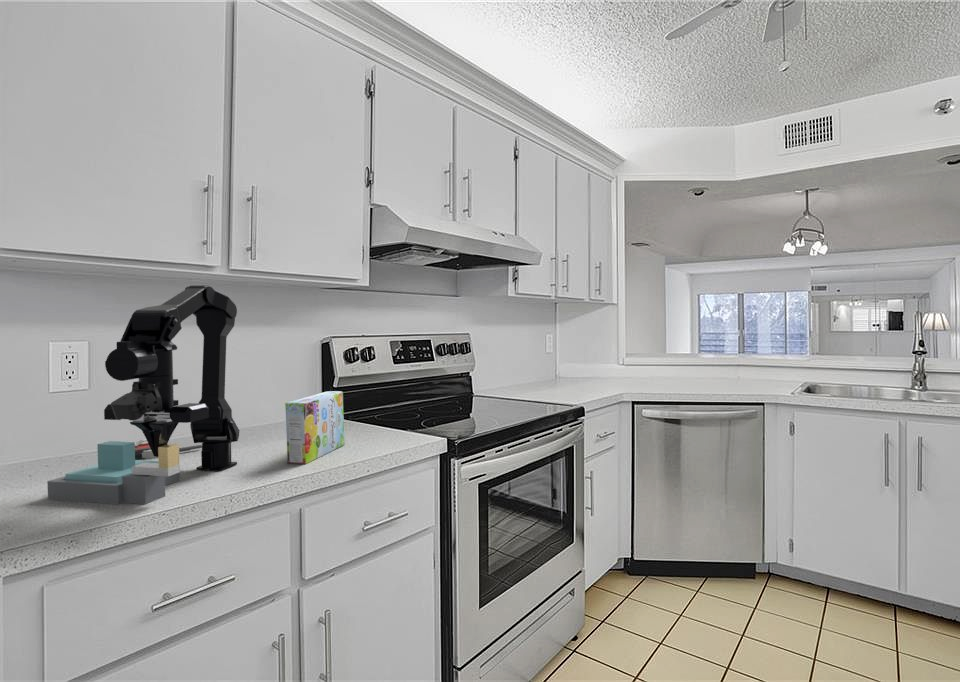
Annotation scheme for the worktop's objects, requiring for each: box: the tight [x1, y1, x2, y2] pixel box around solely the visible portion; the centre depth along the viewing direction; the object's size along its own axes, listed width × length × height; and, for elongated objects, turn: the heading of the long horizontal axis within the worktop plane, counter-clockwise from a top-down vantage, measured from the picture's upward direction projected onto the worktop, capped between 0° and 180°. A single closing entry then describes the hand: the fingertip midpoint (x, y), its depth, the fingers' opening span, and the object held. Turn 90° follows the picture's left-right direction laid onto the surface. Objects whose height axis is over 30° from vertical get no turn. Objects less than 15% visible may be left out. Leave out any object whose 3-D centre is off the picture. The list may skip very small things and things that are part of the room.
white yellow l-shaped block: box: [132, 443, 181, 476], centre depth 108 cm, size 3×8×6 cm, turn 79°
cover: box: [64, 440, 159, 483], centre depth 115 cm, size 12×12×8 cm
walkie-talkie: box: [135, 438, 202, 460], centre depth 145 cm, size 9×4×20 cm
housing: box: [47, 472, 181, 505], centre depth 114 cm, size 16×21×5 cm
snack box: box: [284, 390, 346, 465], centre depth 145 cm, size 21×6×15 cm, turn 168°
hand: (157, 456), depth 107 cm, fingers closed
